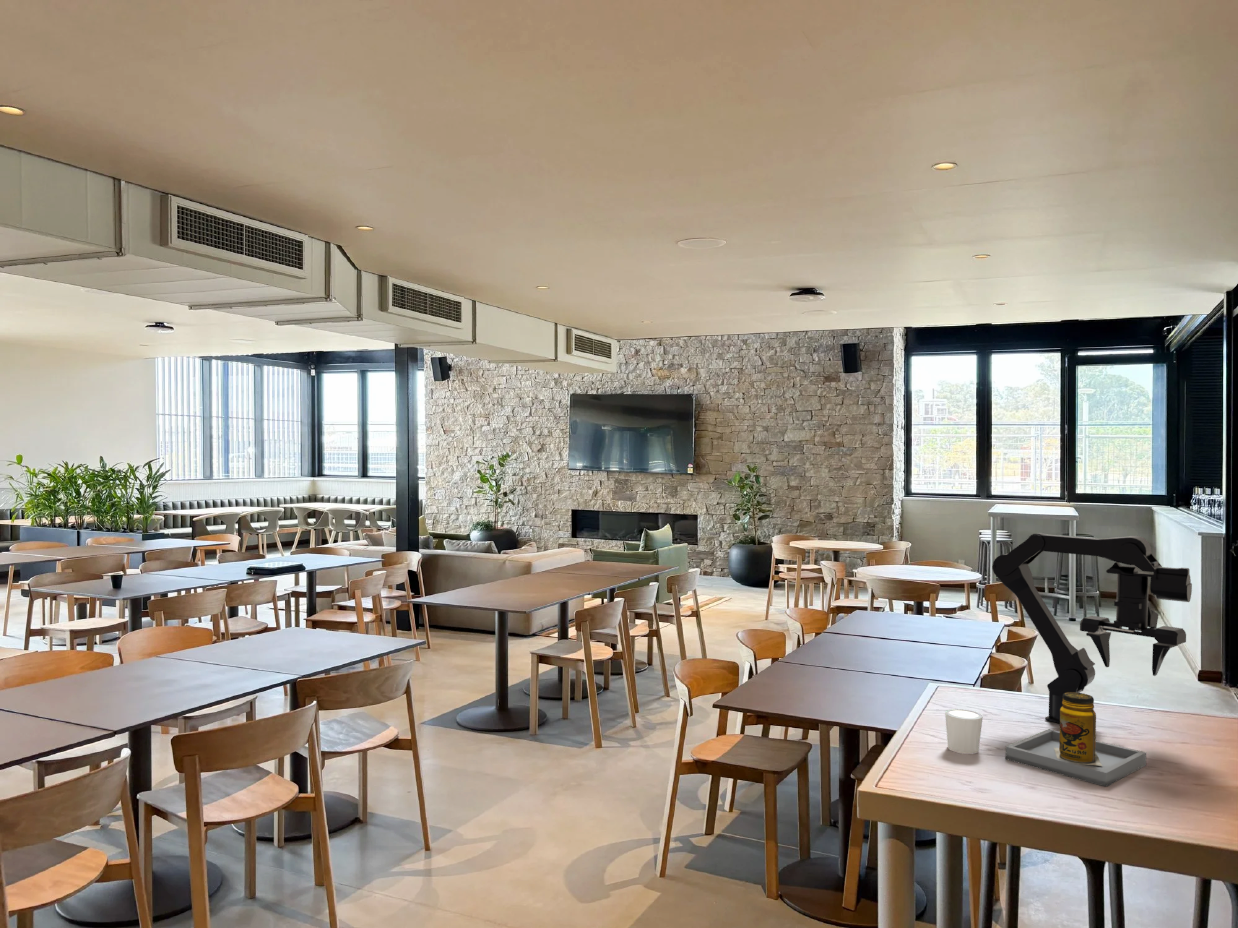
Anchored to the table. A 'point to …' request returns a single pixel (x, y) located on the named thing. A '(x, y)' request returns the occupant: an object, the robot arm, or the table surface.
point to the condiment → (1077, 730)
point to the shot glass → (963, 730)
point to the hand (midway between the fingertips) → (1130, 671)
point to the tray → (1043, 756)
